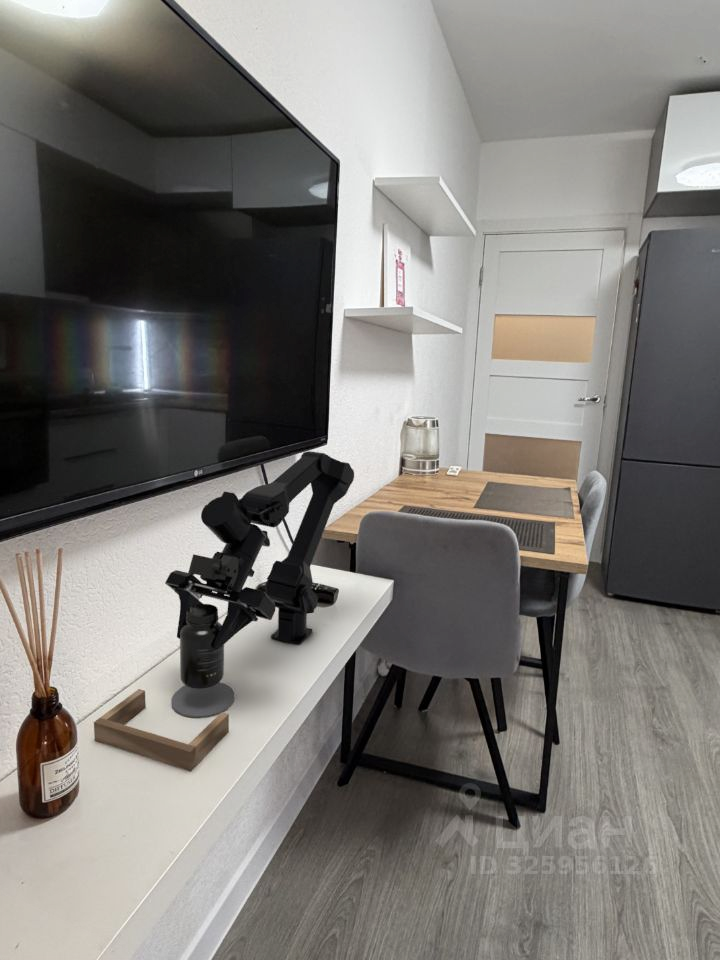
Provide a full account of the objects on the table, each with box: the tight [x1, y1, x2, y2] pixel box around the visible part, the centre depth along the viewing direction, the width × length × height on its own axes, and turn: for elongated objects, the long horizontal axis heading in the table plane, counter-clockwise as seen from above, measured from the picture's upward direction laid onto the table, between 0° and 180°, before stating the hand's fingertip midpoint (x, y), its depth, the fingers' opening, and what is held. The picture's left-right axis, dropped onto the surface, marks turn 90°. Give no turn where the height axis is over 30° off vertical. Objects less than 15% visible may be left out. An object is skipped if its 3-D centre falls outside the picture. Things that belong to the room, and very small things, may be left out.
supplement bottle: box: [179, 603, 225, 689], centre depth 95 cm, size 7×7×12 cm
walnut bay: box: [93, 688, 230, 772], centre depth 88 cm, size 10×16×3 cm, turn 70°
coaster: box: [170, 681, 236, 719], centre depth 97 cm, size 10×10×1 cm
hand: (196, 643), depth 94 cm, fingers closed on supplement bottle, 7 cm apart
